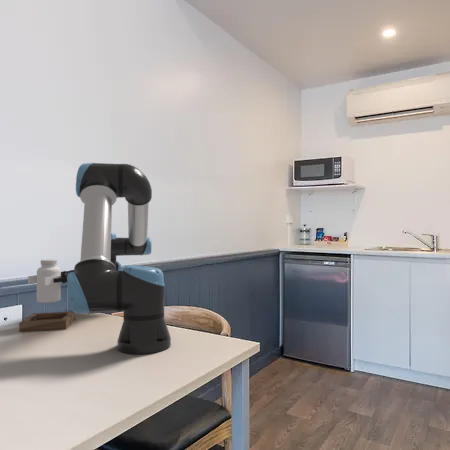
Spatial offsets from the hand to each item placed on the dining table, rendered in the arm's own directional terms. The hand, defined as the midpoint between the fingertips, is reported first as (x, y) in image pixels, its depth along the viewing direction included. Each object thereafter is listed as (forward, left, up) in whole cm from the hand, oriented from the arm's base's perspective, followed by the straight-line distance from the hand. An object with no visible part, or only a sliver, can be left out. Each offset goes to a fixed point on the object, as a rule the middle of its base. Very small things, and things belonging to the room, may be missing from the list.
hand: (36, 280), depth 141 cm
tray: (+4, -3, -16) cm, 17 cm away
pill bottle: (+4, -3, -8) cm, 10 cm away
